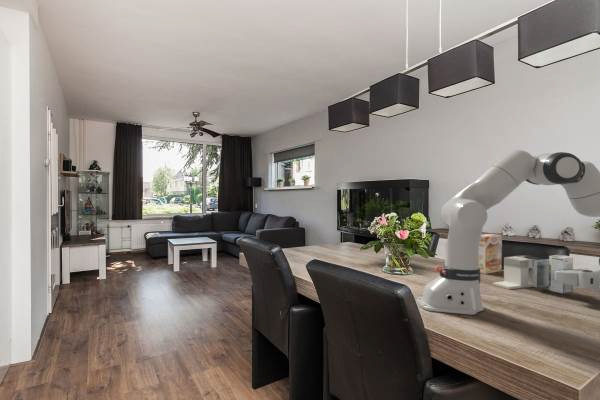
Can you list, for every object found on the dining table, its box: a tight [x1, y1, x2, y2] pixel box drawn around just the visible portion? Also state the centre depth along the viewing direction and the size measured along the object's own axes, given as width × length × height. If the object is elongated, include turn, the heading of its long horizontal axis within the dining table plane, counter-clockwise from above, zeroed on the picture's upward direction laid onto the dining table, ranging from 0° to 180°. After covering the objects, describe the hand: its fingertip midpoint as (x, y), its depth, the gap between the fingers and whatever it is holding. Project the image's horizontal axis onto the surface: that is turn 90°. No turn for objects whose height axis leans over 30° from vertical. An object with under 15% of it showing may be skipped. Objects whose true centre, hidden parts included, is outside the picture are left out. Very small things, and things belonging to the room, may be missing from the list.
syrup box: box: [547, 254, 574, 294], centre depth 134 cm, size 6×6×14 cm
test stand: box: [492, 255, 535, 290], centre depth 149 cm, size 8×26×12 cm, turn 109°
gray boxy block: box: [524, 255, 549, 288], centre depth 144 cm, size 10×12×11 cm
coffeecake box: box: [479, 233, 503, 275], centre depth 176 cm, size 15×7×20 cm, turn 119°
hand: (558, 271), depth 135 cm, fingers closed on syrup box, 6 cm apart
